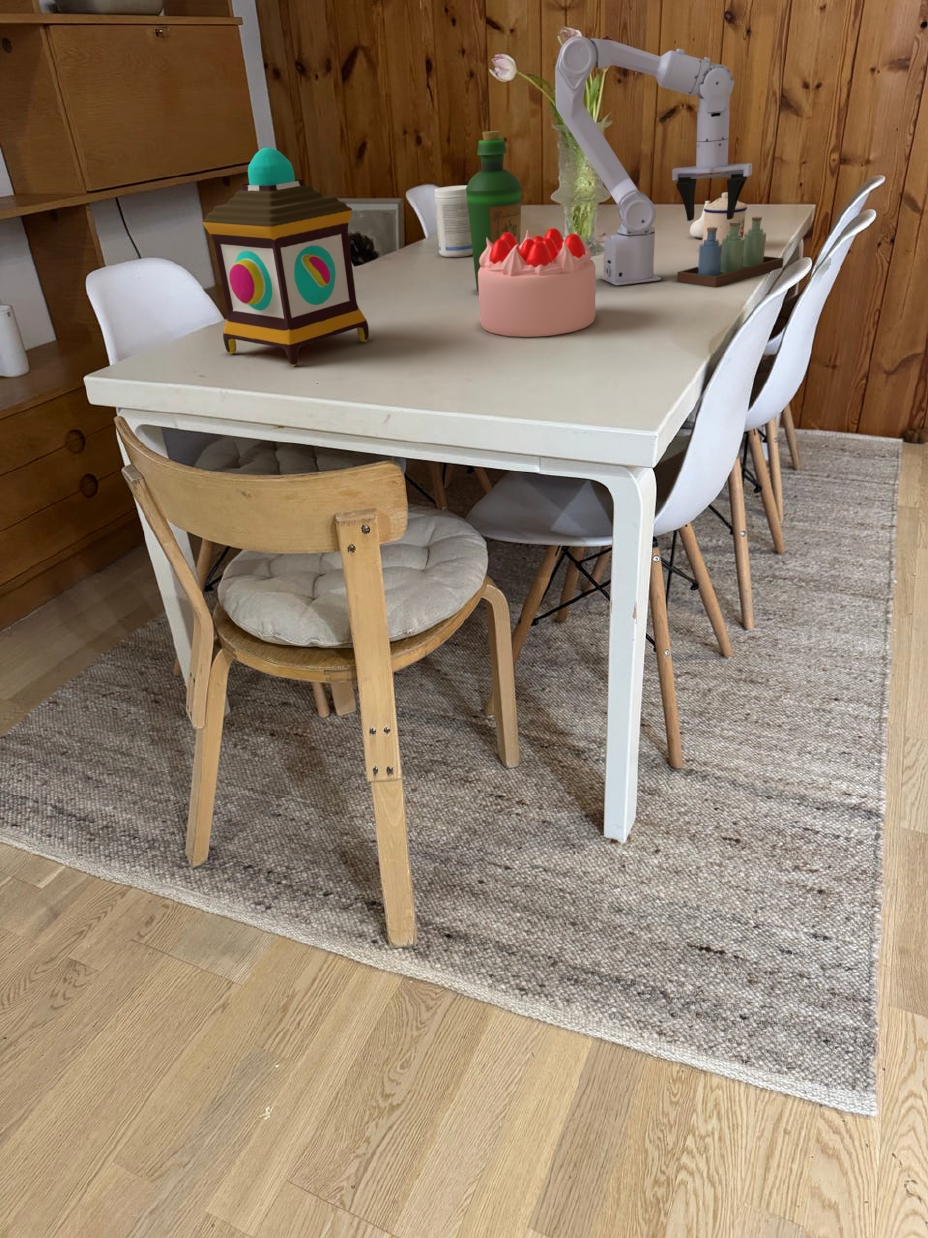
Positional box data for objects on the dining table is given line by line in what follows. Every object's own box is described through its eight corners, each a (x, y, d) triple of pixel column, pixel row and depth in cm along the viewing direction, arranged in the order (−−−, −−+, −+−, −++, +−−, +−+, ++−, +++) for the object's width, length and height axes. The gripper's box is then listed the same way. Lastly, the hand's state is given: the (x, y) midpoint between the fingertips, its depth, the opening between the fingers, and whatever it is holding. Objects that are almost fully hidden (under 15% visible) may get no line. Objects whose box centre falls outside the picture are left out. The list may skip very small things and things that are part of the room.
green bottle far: (754, 268, 180) (759, 219, 175) (737, 265, 182) (741, 217, 178) (767, 264, 182) (772, 216, 177) (749, 262, 185) (754, 214, 180)
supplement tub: (486, 252, 217) (483, 185, 210) (458, 259, 212) (453, 190, 204) (459, 249, 224) (455, 184, 216) (430, 256, 218) (425, 189, 211)
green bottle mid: (733, 274, 176) (737, 224, 171) (715, 271, 179) (719, 222, 174) (746, 270, 178) (750, 221, 173) (728, 268, 181) (732, 219, 176)
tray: (715, 286, 170) (716, 276, 169) (676, 281, 176) (677, 271, 175) (782, 267, 181) (783, 257, 180) (744, 262, 187) (744, 253, 186)
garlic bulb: (684, 237, 218) (686, 201, 213) (705, 234, 220) (707, 198, 215) (700, 240, 213) (702, 203, 208) (722, 237, 215) (724, 200, 210)
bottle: (520, 296, 174) (515, 131, 160) (466, 297, 176) (456, 135, 162) (528, 284, 183) (524, 127, 168) (476, 285, 185) (468, 131, 171)
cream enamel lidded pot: (737, 254, 196) (742, 195, 190) (696, 253, 200) (699, 195, 194) (750, 244, 205) (756, 187, 199) (710, 243, 209) (714, 188, 202)
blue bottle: (710, 280, 172) (714, 229, 168) (692, 278, 175) (696, 228, 170) (724, 276, 174) (728, 226, 170) (706, 274, 177) (710, 225, 173)
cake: (464, 320, 160) (458, 234, 153) (565, 304, 166) (565, 220, 158) (507, 344, 145) (503, 250, 137) (618, 325, 150) (620, 234, 143)
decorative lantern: (303, 327, 163) (274, 141, 148) (382, 340, 152) (360, 139, 136) (214, 355, 151) (172, 154, 135) (292, 371, 139) (257, 153, 124)
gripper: (667, 145, 167) (666, 224, 174) (746, 139, 160) (742, 221, 167) (679, 140, 172) (678, 217, 179) (756, 134, 165) (752, 214, 172)
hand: (710, 219), depth 173 cm, fingers open, 7 cm apart
